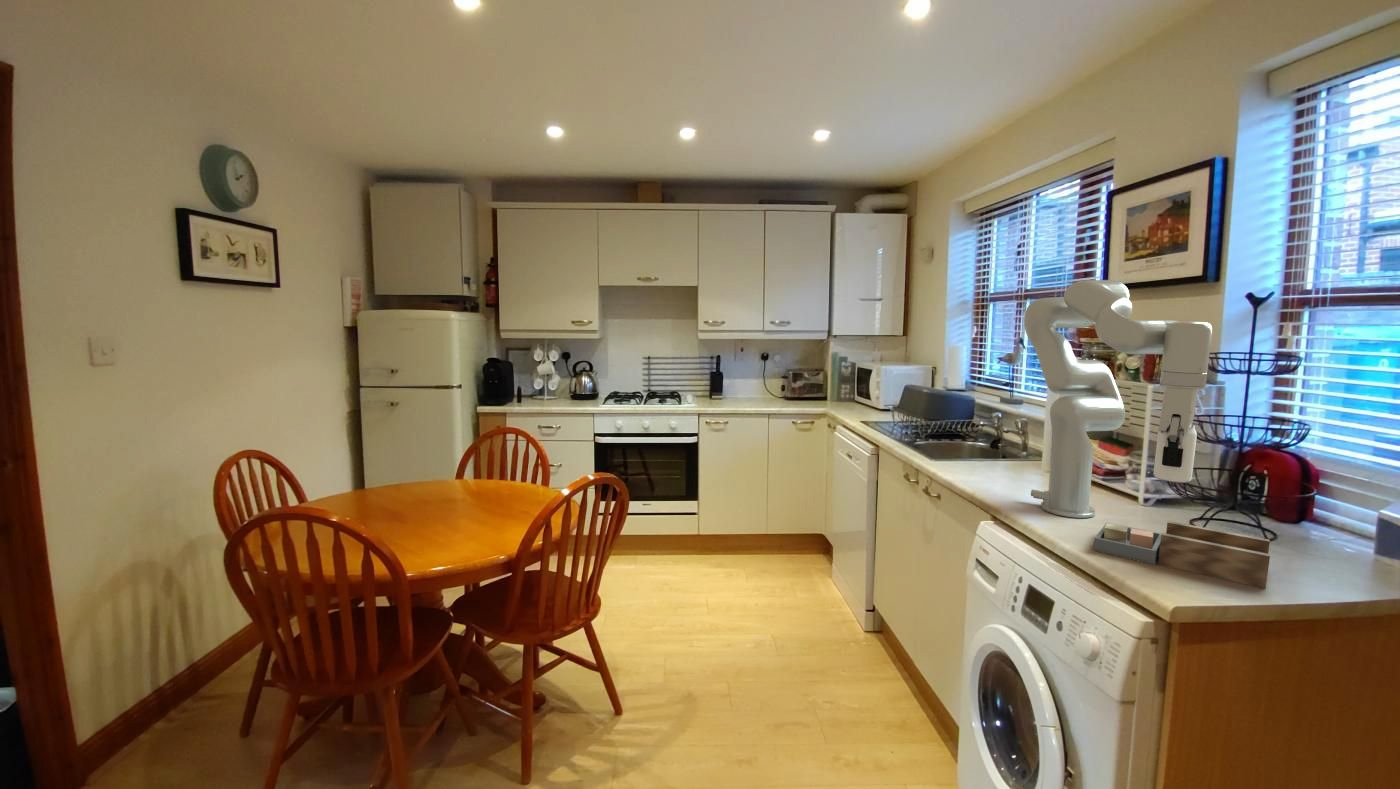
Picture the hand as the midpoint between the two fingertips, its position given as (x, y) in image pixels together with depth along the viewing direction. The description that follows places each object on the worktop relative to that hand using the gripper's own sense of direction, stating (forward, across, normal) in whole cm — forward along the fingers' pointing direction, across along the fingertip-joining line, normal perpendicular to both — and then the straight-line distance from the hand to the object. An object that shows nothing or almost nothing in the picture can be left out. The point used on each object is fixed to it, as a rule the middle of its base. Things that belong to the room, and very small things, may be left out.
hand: (1173, 462), depth 126 cm
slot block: (+21, 0, +8) cm, 23 cm away
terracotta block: (+19, +1, -6) cm, 20 cm away
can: (+4, 0, 0) cm, 4 cm away
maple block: (+17, +1, -9) cm, 19 cm away
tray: (+21, 0, -6) cm, 22 cm away
